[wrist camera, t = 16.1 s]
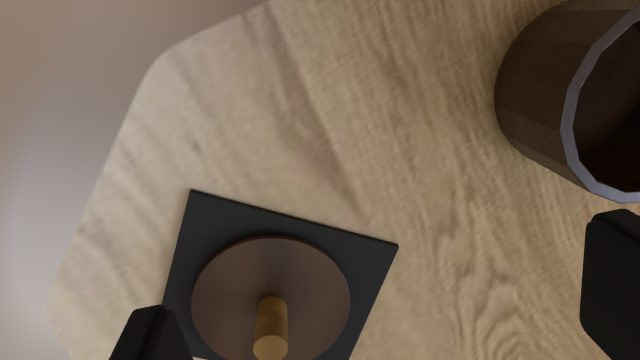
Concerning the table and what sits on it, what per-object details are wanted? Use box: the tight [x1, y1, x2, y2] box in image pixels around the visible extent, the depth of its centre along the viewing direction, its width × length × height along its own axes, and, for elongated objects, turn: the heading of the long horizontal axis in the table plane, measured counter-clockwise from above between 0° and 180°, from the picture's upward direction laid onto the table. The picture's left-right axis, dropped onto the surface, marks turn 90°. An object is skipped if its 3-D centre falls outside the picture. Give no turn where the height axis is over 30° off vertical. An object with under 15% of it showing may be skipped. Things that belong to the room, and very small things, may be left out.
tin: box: [494, 0, 640, 203], centre depth 29 cm, size 13×13×8 cm
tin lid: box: [191, 235, 351, 360], centre depth 34 cm, size 14×14×6 cm
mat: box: [162, 190, 399, 360], centre depth 37 cm, size 18×16×1 cm
